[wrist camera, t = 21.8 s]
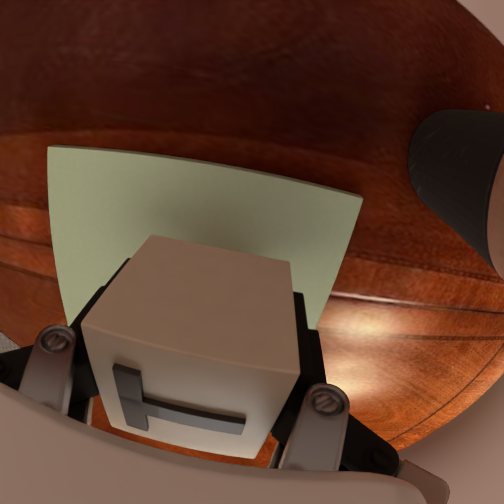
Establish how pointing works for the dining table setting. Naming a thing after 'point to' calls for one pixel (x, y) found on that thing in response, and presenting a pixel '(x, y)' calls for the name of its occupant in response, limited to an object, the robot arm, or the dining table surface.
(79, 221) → the board
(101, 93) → the dining table surface
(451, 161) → the travel mug
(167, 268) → the tile
